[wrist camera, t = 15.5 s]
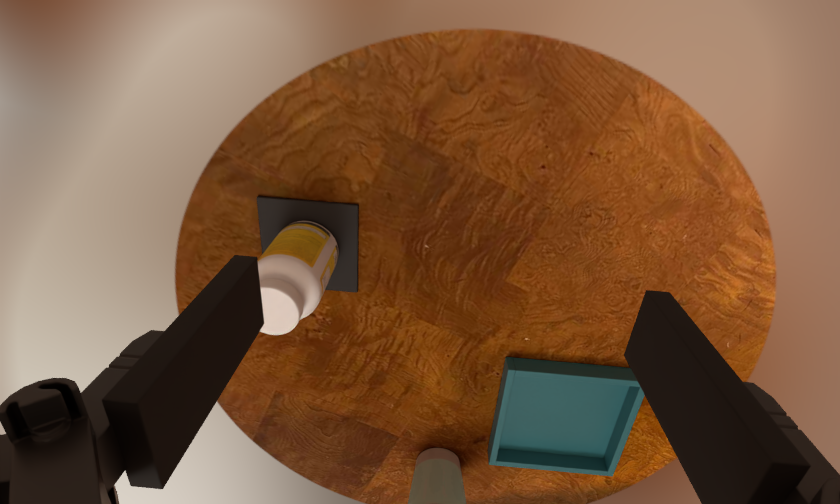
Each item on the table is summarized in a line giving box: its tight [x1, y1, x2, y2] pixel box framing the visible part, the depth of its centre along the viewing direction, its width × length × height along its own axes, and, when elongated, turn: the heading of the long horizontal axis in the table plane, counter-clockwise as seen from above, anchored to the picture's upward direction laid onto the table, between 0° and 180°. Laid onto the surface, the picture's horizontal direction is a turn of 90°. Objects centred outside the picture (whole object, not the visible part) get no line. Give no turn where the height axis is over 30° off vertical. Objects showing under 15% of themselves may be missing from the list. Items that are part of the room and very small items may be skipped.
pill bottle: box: [258, 221, 339, 335], centre depth 42 cm, size 6×6×12 cm
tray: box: [488, 357, 645, 476], centre depth 55 cm, size 16×16×2 cm
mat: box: [257, 196, 358, 292], centre depth 47 cm, size 10×10×1 cm
